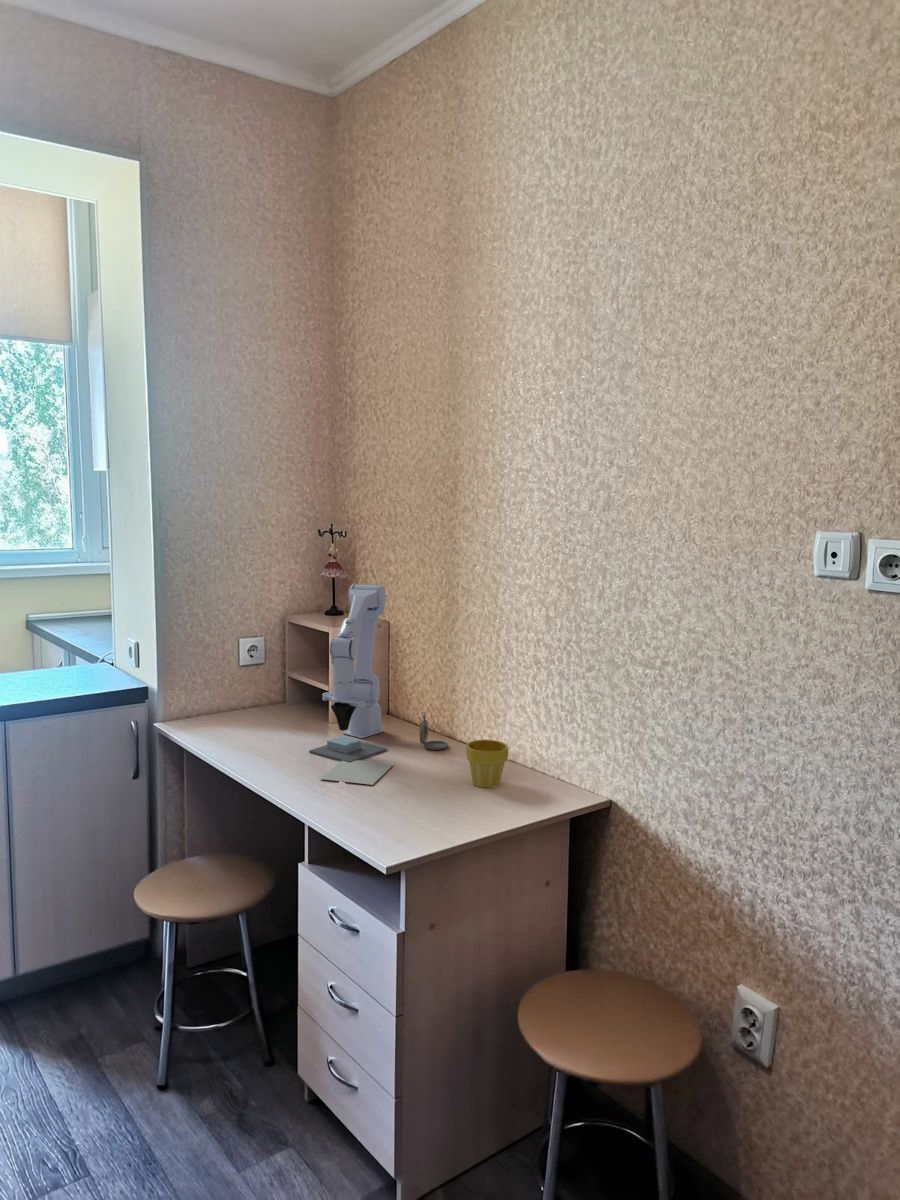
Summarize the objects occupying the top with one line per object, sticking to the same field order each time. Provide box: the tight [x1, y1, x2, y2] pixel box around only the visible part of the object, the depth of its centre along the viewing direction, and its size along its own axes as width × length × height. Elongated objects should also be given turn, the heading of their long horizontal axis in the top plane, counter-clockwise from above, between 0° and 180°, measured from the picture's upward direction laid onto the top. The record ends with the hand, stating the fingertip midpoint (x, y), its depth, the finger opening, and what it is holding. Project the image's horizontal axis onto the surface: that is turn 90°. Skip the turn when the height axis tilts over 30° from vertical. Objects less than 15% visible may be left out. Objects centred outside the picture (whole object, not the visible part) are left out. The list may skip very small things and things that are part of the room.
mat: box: [308, 741, 388, 762], centre depth 237 cm, size 15×15×1 cm
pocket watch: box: [419, 711, 449, 751], centre depth 242 cm, size 8×8×10 cm
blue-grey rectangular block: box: [326, 735, 362, 753], centre depth 238 cm, size 6×2×7 cm
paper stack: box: [319, 760, 394, 786], centre depth 215 cm, size 23×25×1 cm
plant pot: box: [465, 739, 509, 788], centre depth 213 cm, size 10×10×10 cm
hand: (343, 729), depth 238 cm, fingers closed
